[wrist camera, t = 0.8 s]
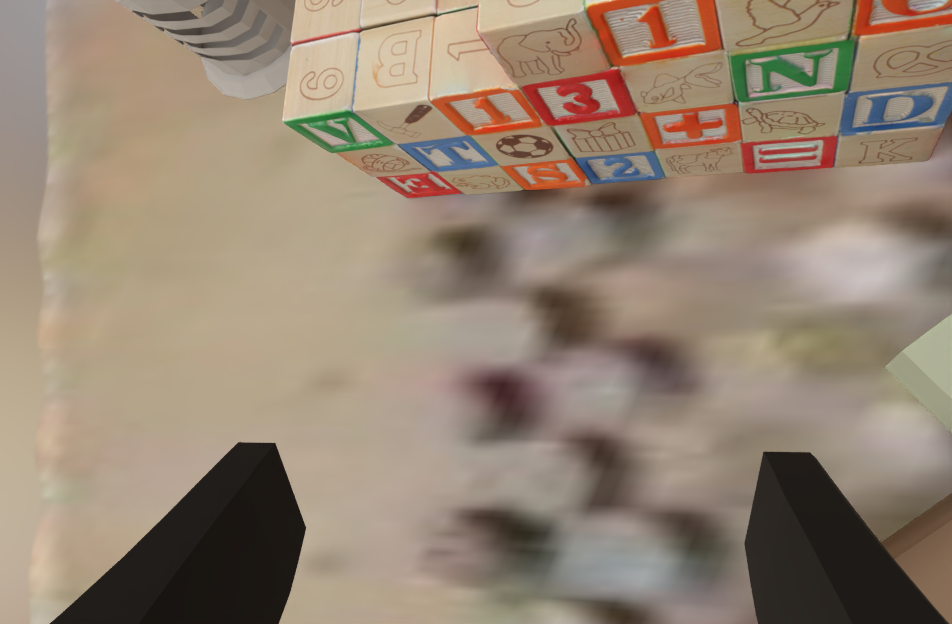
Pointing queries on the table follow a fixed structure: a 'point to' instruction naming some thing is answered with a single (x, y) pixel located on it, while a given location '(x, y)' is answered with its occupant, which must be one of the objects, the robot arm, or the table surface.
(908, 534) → the walnut block
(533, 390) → the table surface
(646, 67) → the stack of blocks
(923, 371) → the sage cube
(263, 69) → the french press
